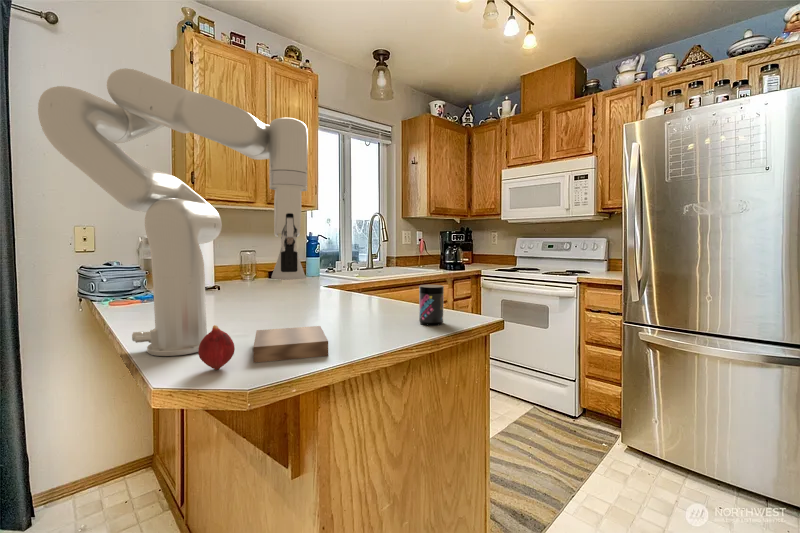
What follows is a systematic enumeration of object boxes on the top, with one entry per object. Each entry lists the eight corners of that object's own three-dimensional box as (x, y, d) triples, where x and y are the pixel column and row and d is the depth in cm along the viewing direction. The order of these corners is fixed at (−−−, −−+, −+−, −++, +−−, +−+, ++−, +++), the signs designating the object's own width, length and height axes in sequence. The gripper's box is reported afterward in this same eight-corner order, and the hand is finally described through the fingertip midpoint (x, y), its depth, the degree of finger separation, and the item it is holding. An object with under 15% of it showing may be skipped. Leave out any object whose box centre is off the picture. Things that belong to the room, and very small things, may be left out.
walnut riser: (253, 362, 73) (253, 347, 73) (256, 343, 86) (256, 330, 86) (328, 355, 77) (328, 340, 77) (320, 338, 91) (320, 325, 90)
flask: (301, 281, 77) (301, 230, 76) (265, 280, 77) (265, 230, 77) (310, 277, 84) (310, 231, 84) (277, 276, 85) (277, 230, 84)
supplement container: (418, 320, 110) (418, 284, 109) (441, 320, 110) (442, 284, 109) (419, 326, 103) (419, 287, 103) (444, 326, 103) (445, 287, 103)
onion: (242, 366, 71) (240, 323, 70) (217, 376, 66) (216, 330, 65) (217, 362, 73) (215, 321, 72) (191, 372, 67) (189, 327, 67)
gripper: (269, 186, 86) (269, 267, 88) (269, 175, 70) (269, 274, 72) (304, 188, 89) (303, 267, 90) (311, 177, 73) (310, 274, 74)
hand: (288, 269), depth 81 cm, fingers closed on flask, 4 cm apart
